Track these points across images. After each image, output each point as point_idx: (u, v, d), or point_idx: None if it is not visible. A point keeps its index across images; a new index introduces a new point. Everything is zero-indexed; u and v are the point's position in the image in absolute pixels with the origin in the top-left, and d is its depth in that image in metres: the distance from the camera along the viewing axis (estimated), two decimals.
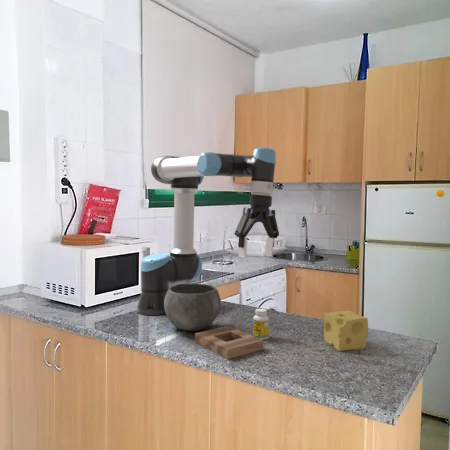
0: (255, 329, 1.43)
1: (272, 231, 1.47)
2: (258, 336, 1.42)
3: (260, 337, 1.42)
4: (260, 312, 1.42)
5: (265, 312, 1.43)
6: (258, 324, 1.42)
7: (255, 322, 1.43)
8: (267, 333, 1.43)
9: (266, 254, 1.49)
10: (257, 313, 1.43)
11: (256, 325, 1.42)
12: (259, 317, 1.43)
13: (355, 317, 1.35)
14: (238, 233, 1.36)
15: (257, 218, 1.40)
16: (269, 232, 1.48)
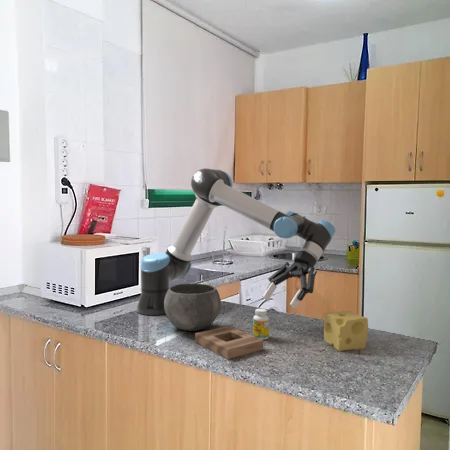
0: (255, 329, 1.43)
1: None
2: (258, 336, 1.42)
3: (260, 337, 1.42)
4: (260, 312, 1.42)
5: (265, 312, 1.43)
6: (258, 324, 1.42)
7: (255, 322, 1.43)
8: (267, 333, 1.43)
9: (265, 296, 1.53)
10: (257, 313, 1.43)
11: (256, 325, 1.42)
12: (259, 317, 1.43)
13: (355, 317, 1.35)
14: (312, 290, 1.43)
15: None
16: (279, 281, 1.56)
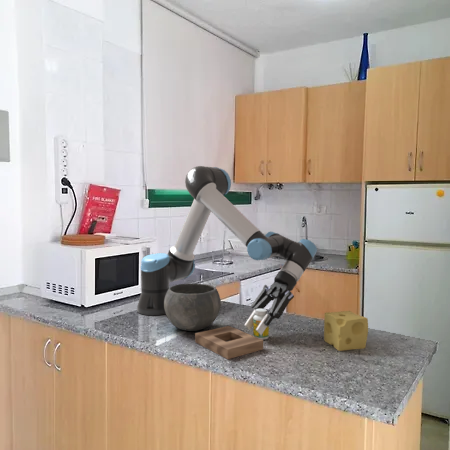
0: (255, 329, 1.43)
1: None
2: (258, 336, 1.42)
3: (260, 337, 1.42)
4: (260, 311, 1.42)
5: (265, 312, 1.43)
6: (258, 324, 1.42)
7: (255, 322, 1.43)
8: (267, 333, 1.43)
9: (247, 325, 1.45)
10: (257, 313, 1.43)
11: (257, 325, 1.42)
12: (259, 317, 1.43)
13: (355, 317, 1.35)
14: (278, 316, 1.41)
15: None
16: (262, 306, 1.48)
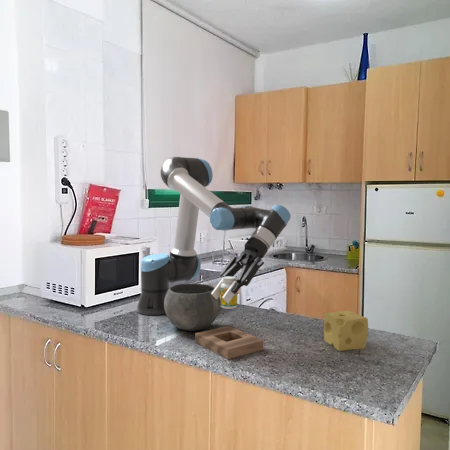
0: (222, 298, 1.34)
1: None
2: (225, 305, 1.33)
3: (227, 306, 1.33)
4: (227, 279, 1.33)
5: (233, 279, 1.34)
6: (225, 292, 1.33)
7: (222, 290, 1.34)
8: (235, 302, 1.34)
9: (214, 294, 1.35)
10: (224, 280, 1.34)
11: (224, 293, 1.33)
12: (226, 285, 1.33)
13: (355, 317, 1.35)
14: (247, 283, 1.32)
15: None
16: (230, 275, 1.39)
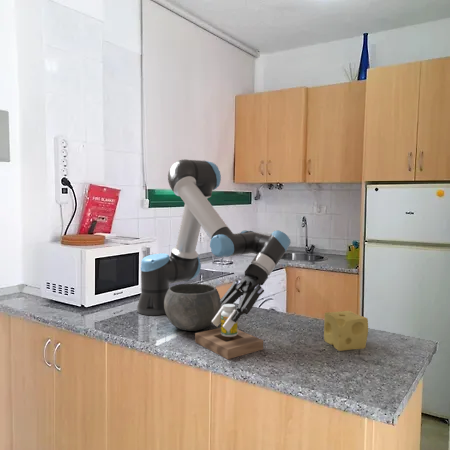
0: (222, 326, 1.34)
1: None
2: (226, 333, 1.34)
3: (228, 334, 1.34)
4: (227, 307, 1.34)
5: (233, 307, 1.34)
6: (225, 320, 1.33)
7: (222, 318, 1.34)
8: (235, 330, 1.34)
9: (214, 322, 1.36)
10: (225, 309, 1.34)
11: (224, 321, 1.34)
12: (227, 313, 1.34)
13: (355, 317, 1.35)
14: (247, 311, 1.32)
15: None
16: (231, 302, 1.39)
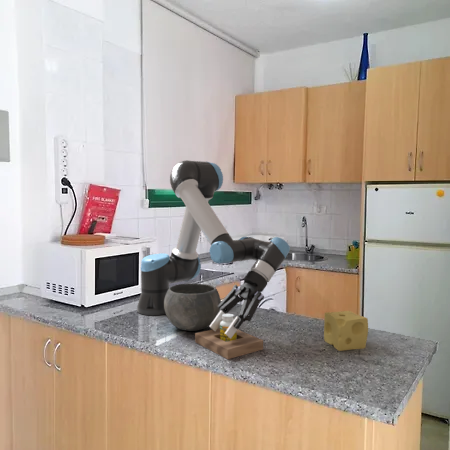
0: (222, 335, 1.35)
1: None
2: None
3: None
4: (226, 317, 1.34)
5: (232, 317, 1.35)
6: (224, 330, 1.34)
7: (221, 328, 1.35)
8: None
9: (212, 326, 1.37)
10: (223, 318, 1.35)
11: (223, 331, 1.34)
12: (226, 323, 1.35)
13: (355, 317, 1.35)
14: (249, 318, 1.32)
15: None
16: (229, 307, 1.41)
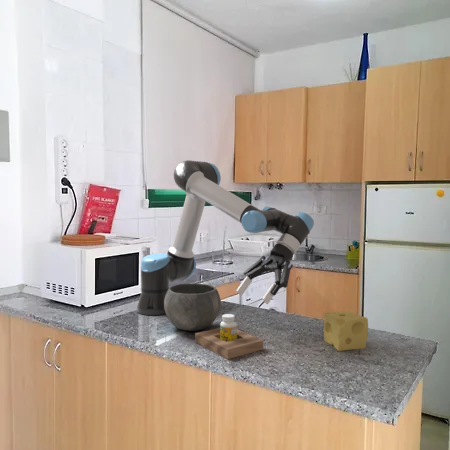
0: (222, 336, 1.35)
1: None
2: None
3: None
4: (227, 317, 1.34)
5: (232, 318, 1.35)
6: (225, 330, 1.34)
7: (222, 329, 1.35)
8: None
9: (239, 291, 1.46)
10: (224, 319, 1.35)
11: (223, 332, 1.34)
12: (226, 323, 1.34)
13: (355, 317, 1.35)
14: (286, 285, 1.36)
15: None
16: (254, 275, 1.49)
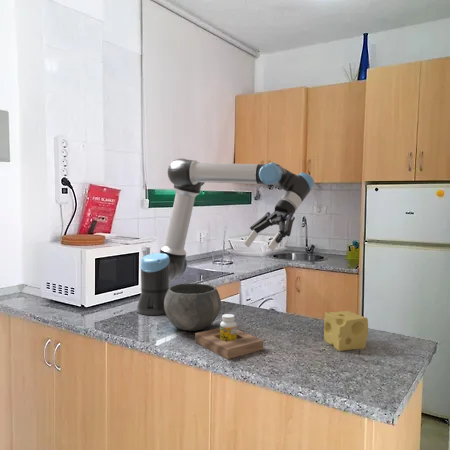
0: (222, 336, 1.35)
1: None
2: None
3: None
4: (227, 317, 1.34)
5: (232, 318, 1.35)
6: (224, 330, 1.34)
7: (222, 329, 1.35)
8: None
9: (246, 242, 1.61)
10: (224, 319, 1.35)
11: (223, 332, 1.34)
12: (226, 323, 1.34)
13: (355, 317, 1.35)
14: (289, 233, 1.51)
15: None
16: (260, 229, 1.64)
